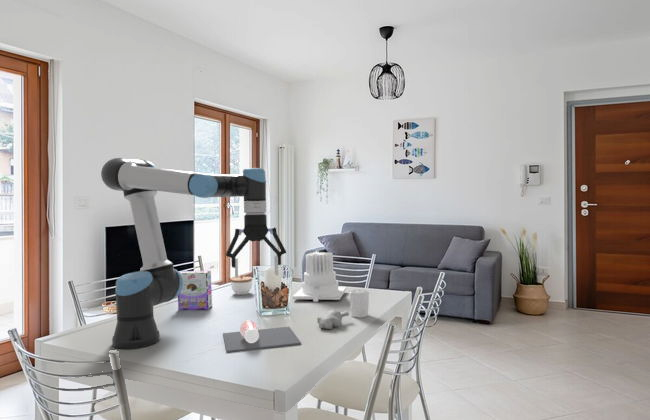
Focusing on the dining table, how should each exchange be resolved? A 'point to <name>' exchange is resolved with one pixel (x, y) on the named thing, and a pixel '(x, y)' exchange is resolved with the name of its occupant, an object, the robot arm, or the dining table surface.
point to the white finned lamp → (320, 279)
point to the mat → (261, 339)
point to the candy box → (195, 291)
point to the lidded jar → (241, 285)
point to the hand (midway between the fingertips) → (256, 275)
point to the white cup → (359, 302)
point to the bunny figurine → (331, 319)
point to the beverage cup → (249, 331)
